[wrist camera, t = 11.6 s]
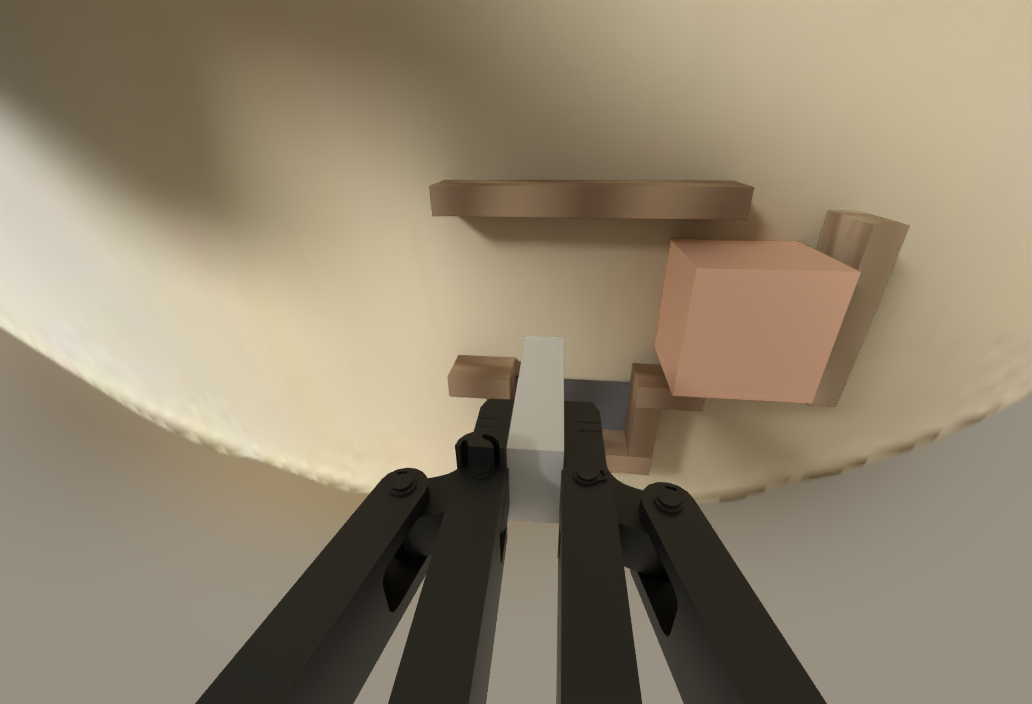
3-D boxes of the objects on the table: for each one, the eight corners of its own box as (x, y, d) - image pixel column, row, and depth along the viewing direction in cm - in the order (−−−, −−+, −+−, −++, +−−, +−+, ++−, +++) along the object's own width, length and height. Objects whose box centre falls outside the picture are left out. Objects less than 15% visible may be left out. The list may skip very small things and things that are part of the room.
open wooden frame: (465, 434, 33) (452, 470, 30) (444, 179, 25) (423, 188, 21) (773, 455, 31) (799, 497, 27) (868, 181, 22) (924, 190, 19)
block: (653, 345, 28) (672, 395, 23) (670, 238, 25) (696, 268, 20) (765, 350, 27) (811, 403, 22) (798, 240, 24) (861, 272, 19)
